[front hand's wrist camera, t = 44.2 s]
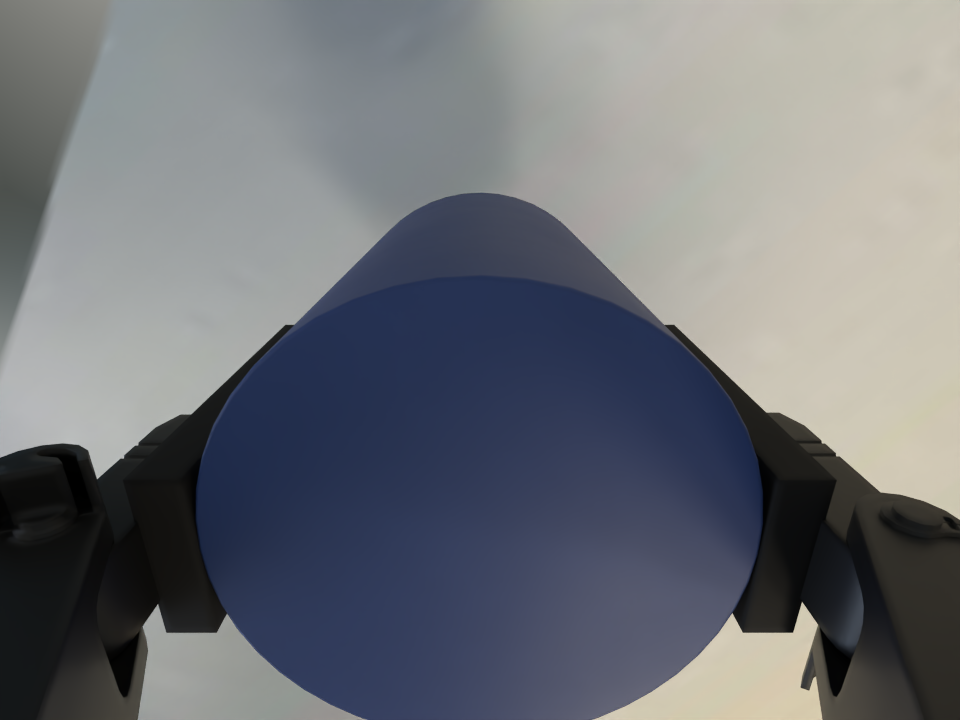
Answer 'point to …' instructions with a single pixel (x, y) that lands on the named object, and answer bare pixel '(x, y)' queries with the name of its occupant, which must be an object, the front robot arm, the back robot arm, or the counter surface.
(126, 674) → the front robot arm
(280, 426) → the cylinder
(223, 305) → the counter surface
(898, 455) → the counter surface
